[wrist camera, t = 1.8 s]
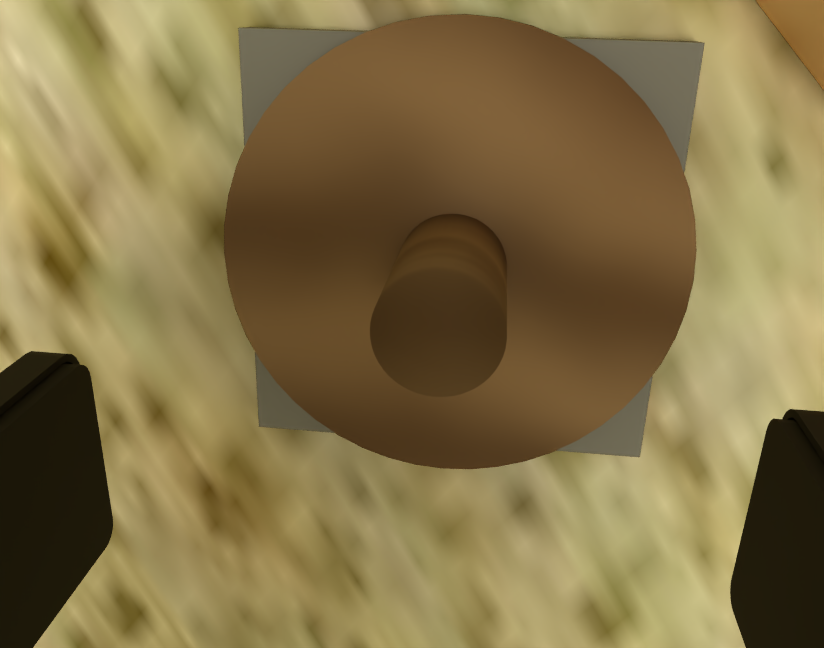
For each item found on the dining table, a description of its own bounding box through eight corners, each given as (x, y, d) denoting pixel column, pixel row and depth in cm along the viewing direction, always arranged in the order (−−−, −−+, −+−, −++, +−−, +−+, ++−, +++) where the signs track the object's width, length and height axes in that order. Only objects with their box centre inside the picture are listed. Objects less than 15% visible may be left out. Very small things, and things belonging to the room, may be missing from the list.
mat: (634, 440, 25) (639, 457, 24) (267, 412, 26) (258, 426, 25) (695, 41, 21) (704, 42, 20) (249, 27, 22) (238, 27, 21)
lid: (653, 471, 24) (695, 602, 19) (244, 438, 25) (175, 551, 20) (728, 21, 19) (813, 25, 14) (219, 6, 21) (118, 4, 15)
